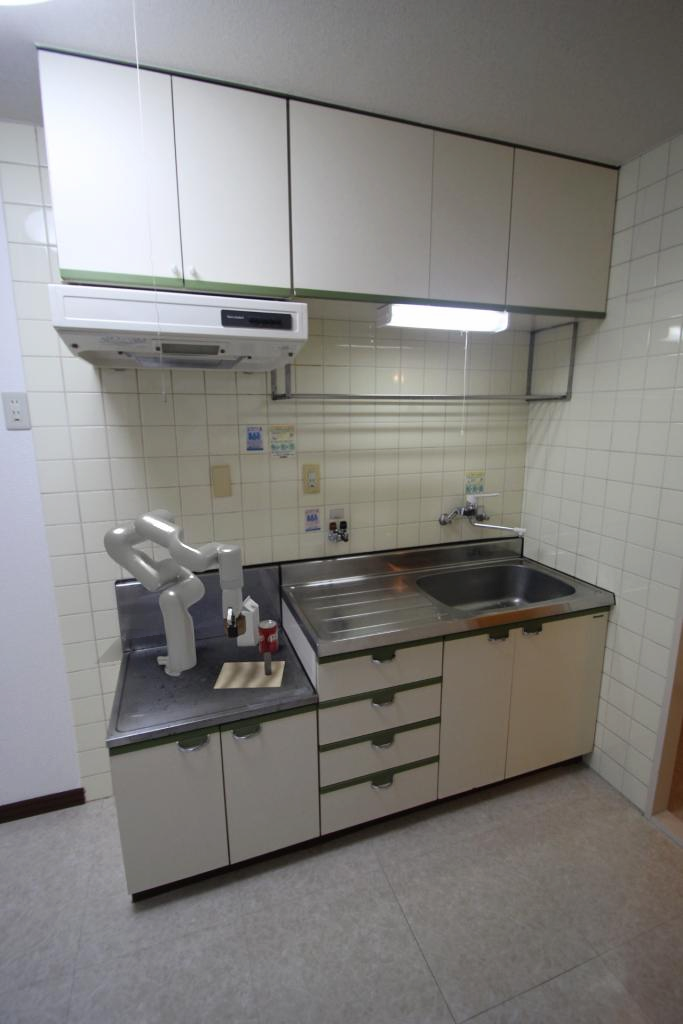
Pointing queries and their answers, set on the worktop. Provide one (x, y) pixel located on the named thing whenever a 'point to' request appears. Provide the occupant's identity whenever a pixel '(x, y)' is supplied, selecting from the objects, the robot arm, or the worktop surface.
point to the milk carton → (250, 623)
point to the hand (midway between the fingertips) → (235, 631)
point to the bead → (240, 623)
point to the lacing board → (251, 674)
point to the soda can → (268, 636)
